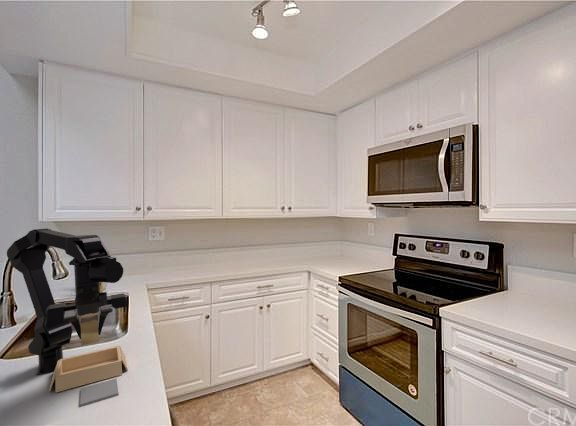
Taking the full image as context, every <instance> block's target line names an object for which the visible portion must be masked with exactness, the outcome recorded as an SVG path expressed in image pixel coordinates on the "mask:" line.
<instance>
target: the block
mask: <svg viewBox="0 0 576 426" xmlns="http://www.w3.org/2000/svg"><path fill="white" fill-rule="evenodd" d="M98 314H99V312H98V313H94V314H93V313H91V314H85V315H83V316H80V326H81V339H80V340H81V341H80V342H81V345H80V346H87V345H91V344H96V343H99V342H100V335H99V331H98V326H99V315H98Z"/></svg>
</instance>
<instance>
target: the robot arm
mask: <svg viewBox="0 0 576 426" xmlns="http://www.w3.org/2000/svg"><path fill="white" fill-rule="evenodd" d="M51 247H53V248H57V249H61V250H63V251H65V254H66V255H68V256H70V257H71V258H72V259H71V260H70V261H69V262H68V265H69V266H73V267H74V289H75V298H74V304H70V305H66V302H62V303H60V302H59V303H55V299H54V295H53V293H52V290H51V287H50V285H49V281H48V279H47V276H46V273H45V270H44V264H45V262H46V258H47V255H46V254H47V252H48V250H49V249H50V248H51ZM6 256H7V259H8V260H9V262H10V265H12V268H14V269H15V270H17V271H18V272H20V273H21V274H22V276H23V280H24V282H25V284H26V285H25V286H26V288H27V291H28V294H29V298H30V300H31V303H32V306H33V309H34V311H35V315H36V318H37V319H36V323H35V325H34V329H33V333H34V337H33V338H32V341H31V342H30V343H29V344H28V346H27V348H28V352H29V354H30V355H36V356H38V367H37V370H36V373H35V375H36V376H40V375H44V374H48V373H51V372H52V373H54V370H55V367H56V365H57V362H58V360H59V361H60V359H63V358H64V355H63V354H64V353H63V352H64V351H63V346H66V345H67V344H70V343H71V339H72V334H73V328H74V331H76V333H77V337H78V338H79V340H81V325H80V323H81V320H80V317H81V316H83V315H88V314H94V313H98V314H99V315H98V331H99V336H101V335H102V330H103V327H104V323H105V321H106V318H107V316H108V315H109V313H113V312H114V311H113V310H117V309H120V308H121V309H122V308H126V307H128V298H127V297H128V296H127V295H126V294H125V293H116V294H110V298H108V293H107V291H103V292H102V293H100V282H105V283H107V284H115V283H118V282H119V281H120V280H121V279H122V277H123V274H124V267H123V265H122V264H121V263H120V262H119V261H117V257H116V256H111V254H110V252H109V250H108V249H107V247H106V245H105V244H104V242H103V241H102V239H101V237H100V236H99V235H97V234H83V235H74V234H71V233H70V234H69V233H66V232H60V231H56V230H52V229H50V228H35V229H32V230H30V231H28V232H27V233H26V234H25V235H24V236H22V237H20V238H18V239H16V240H15V241H13V242H12V244H10V246H9V248H7V250H6ZM58 365H59V364H58ZM57 369H58V368H57Z"/></svg>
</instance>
